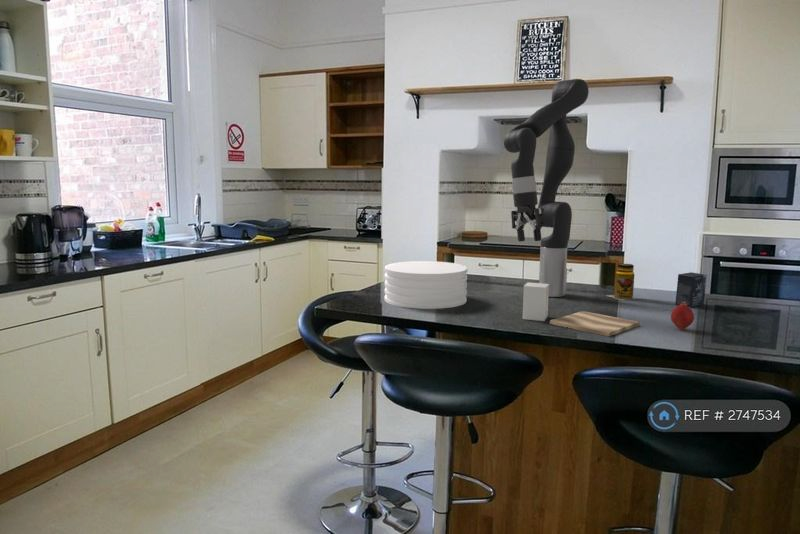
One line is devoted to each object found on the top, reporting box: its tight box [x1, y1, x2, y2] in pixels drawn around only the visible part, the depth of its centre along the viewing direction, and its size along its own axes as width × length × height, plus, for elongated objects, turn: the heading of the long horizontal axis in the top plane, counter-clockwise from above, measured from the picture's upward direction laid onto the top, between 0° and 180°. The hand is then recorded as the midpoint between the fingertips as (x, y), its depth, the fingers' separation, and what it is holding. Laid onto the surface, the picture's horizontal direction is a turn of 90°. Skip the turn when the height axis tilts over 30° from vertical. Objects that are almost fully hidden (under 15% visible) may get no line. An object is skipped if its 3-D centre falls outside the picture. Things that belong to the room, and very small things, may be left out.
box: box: [675, 271, 708, 309], centre depth 193 cm, size 8×6×11 cm
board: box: [549, 310, 641, 337], centre depth 167 cm, size 18×18×1 cm
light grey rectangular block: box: [521, 282, 549, 322], centre depth 174 cm, size 6×6×10 cm
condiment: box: [606, 263, 639, 301], centre depth 205 cm, size 7×8×12 cm
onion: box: [670, 302, 695, 331], centre depth 162 cm, size 6×6×8 cm
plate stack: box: [384, 260, 468, 310], centre depth 199 cm, size 28×28×12 cm
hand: (529, 241), depth 191 cm, fingers open, 8 cm apart
